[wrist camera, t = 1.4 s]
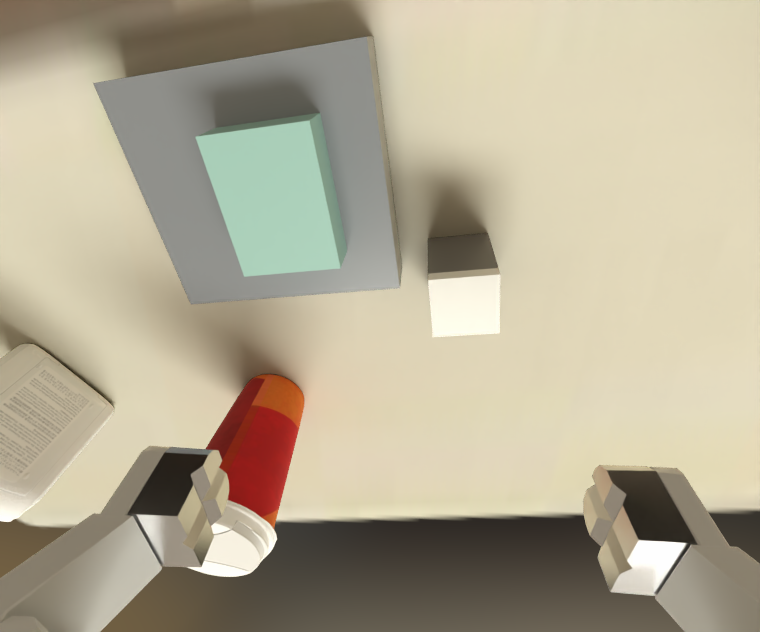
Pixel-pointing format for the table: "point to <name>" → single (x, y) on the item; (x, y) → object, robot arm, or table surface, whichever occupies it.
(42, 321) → the table surface
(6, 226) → the table surface
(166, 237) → the socket
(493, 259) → the plug
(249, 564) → the paper cup
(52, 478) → the book
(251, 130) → the mint green block
